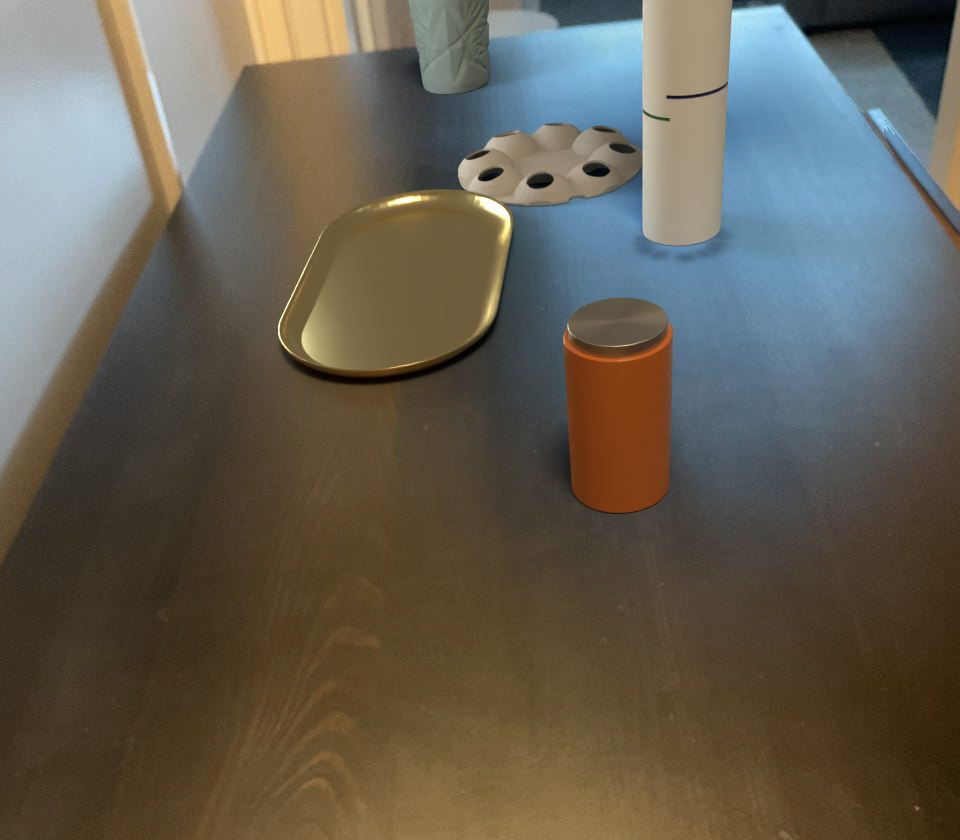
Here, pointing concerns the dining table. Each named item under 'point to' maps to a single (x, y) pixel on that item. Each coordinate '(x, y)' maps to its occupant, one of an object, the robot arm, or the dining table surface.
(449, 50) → the drinking glass
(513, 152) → the round palette
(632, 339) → the orange can
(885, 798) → the dining table surface
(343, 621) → the dining table surface
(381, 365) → the serving platter
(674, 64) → the cylindrical container
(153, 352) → the dining table surface
